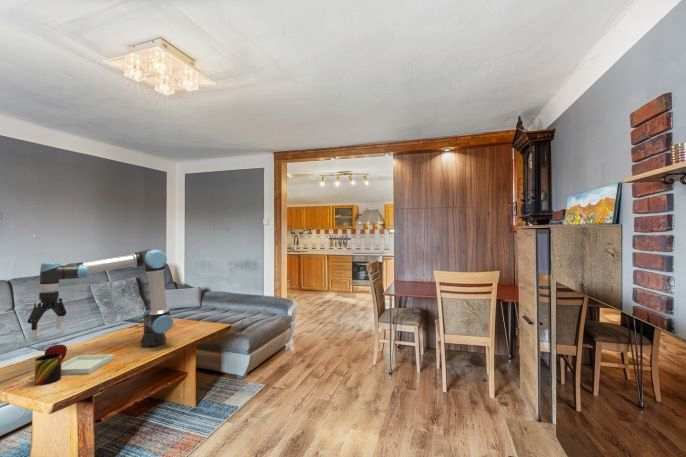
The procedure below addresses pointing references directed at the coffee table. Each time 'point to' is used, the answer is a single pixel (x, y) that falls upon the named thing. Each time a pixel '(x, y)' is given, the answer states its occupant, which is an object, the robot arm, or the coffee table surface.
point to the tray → (85, 364)
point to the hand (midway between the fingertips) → (47, 332)
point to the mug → (48, 369)
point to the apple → (57, 350)
